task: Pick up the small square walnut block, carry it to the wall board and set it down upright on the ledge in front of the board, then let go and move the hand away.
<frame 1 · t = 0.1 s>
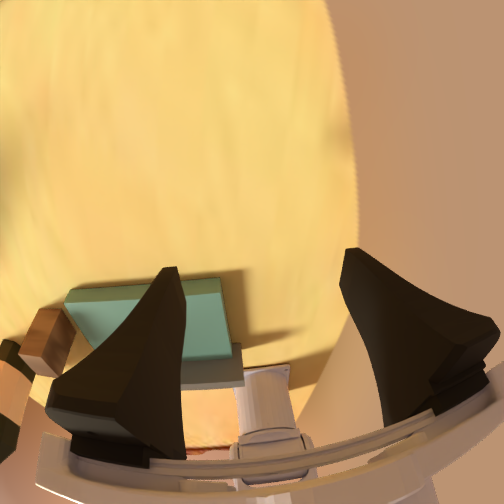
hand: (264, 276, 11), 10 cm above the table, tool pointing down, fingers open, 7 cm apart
wine bottle: (20, 354, 30), on the table
walnut block: (57, 320, 26), on the table
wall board: (153, 325, 27), on the table
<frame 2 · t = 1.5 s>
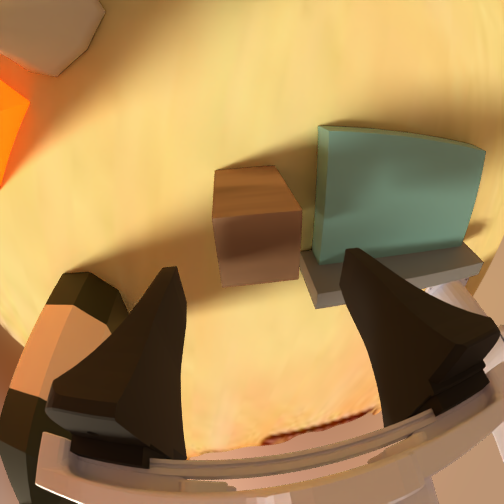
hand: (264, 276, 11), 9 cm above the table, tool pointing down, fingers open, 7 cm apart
flask: (61, 30, 10), on the table
wine bottle: (91, 302, 23), on the table
walnut block: (246, 194, 19), on the table
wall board: (402, 199, 20), on the table
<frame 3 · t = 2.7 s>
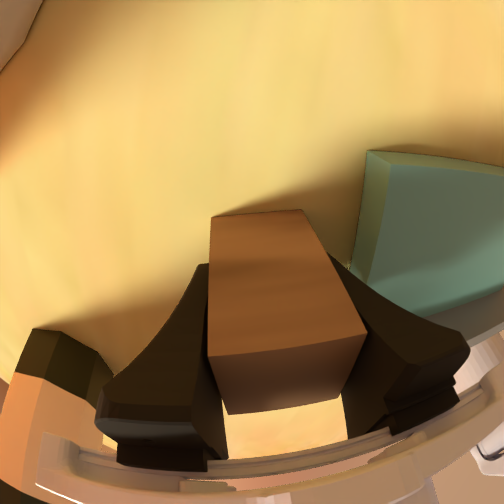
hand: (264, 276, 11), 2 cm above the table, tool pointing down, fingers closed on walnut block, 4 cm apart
wine bottle: (69, 358, 17), on the table
walnut block: (258, 250, 13), on the table, touching gripper
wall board: (452, 243, 14), on the table
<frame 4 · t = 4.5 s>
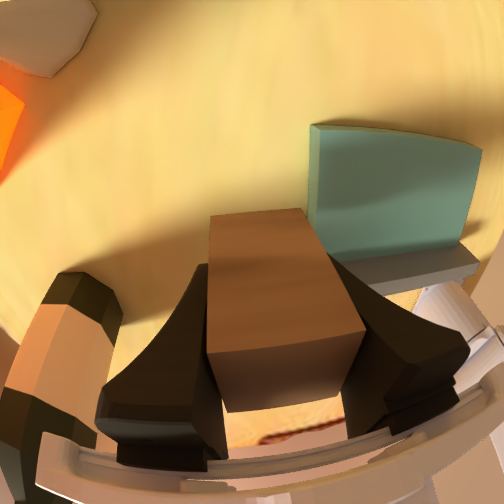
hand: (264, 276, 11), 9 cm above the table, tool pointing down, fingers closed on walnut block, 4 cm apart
flask: (54, 32, 10), on the table
wine bottle: (86, 301, 23), on the table
walnut block: (258, 249, 13), point 7 cm above the table, touching gripper
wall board: (397, 198, 20), on the table
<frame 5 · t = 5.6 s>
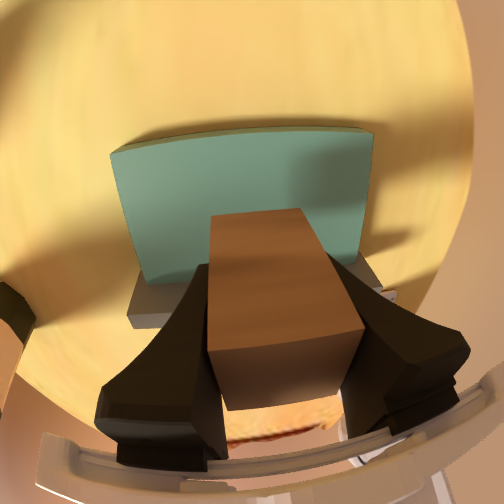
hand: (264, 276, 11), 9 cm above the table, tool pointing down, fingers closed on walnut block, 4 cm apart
wine bottle: (11, 305, 22), on the table
walnut block: (258, 248, 13), point 6 cm above the table, touching gripper
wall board: (247, 209, 19), on the table
when the fingers open (5 cm above the table, at t = 6.5 s): walnut block drops 1 cm, resting on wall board.
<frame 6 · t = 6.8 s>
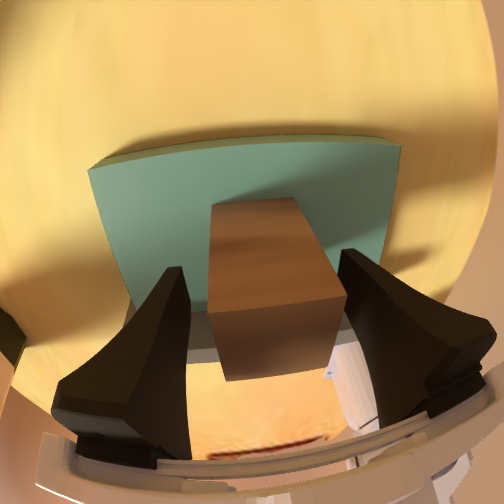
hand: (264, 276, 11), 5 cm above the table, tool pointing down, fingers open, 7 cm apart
wine bottle: (1, 324, 20), on the table
walnut block: (254, 235, 14), point 2 cm above the table, touching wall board
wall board: (251, 231, 16), on the table
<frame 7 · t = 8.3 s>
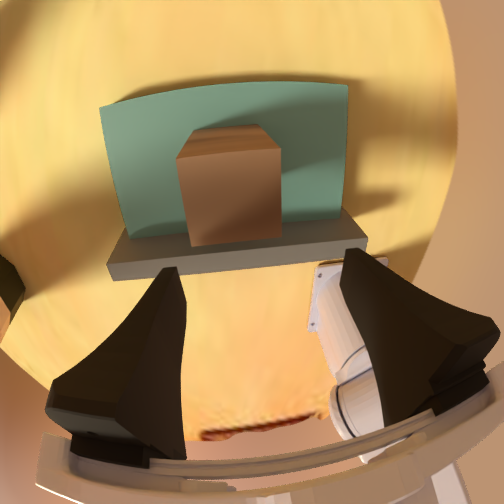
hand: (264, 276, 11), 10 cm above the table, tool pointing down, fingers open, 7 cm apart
wine bottle: (2, 276, 22), on the table
walnut block: (227, 156, 17), point 2 cm above the table, touching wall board
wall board: (228, 162, 19), on the table
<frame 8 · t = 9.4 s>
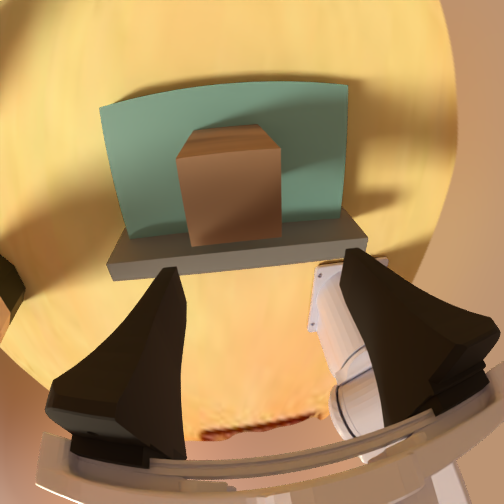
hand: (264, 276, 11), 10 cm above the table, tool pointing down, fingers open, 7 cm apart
wine bottle: (2, 276, 22), on the table
walnut block: (227, 156, 17), point 2 cm above the table, touching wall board
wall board: (228, 162, 19), on the table
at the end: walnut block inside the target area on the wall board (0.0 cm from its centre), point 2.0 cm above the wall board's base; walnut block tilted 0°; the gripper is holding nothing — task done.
